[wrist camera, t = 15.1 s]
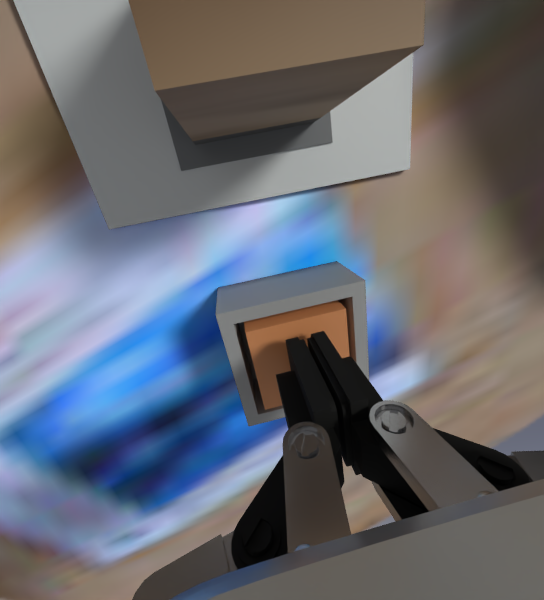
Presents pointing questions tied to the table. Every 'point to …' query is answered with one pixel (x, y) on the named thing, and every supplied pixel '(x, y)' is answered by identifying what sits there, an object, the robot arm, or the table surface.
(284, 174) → the drawing card
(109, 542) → the table surface
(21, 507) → the table surface
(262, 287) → the button housing
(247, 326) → the button
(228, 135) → the rubber stamp
